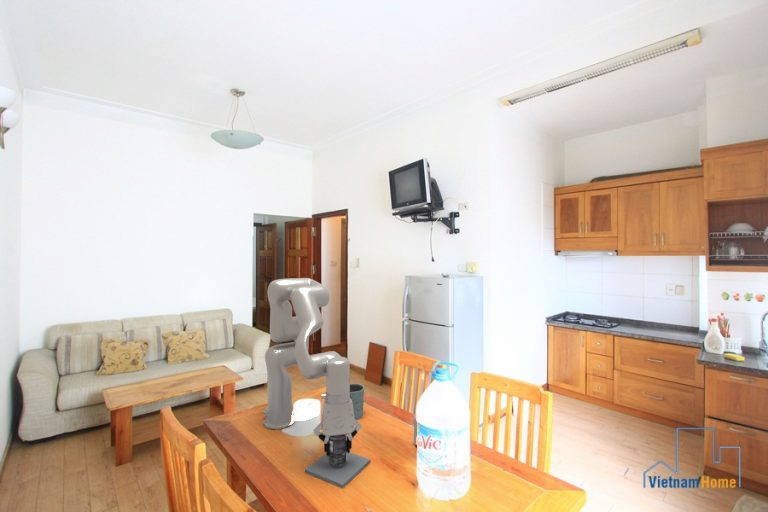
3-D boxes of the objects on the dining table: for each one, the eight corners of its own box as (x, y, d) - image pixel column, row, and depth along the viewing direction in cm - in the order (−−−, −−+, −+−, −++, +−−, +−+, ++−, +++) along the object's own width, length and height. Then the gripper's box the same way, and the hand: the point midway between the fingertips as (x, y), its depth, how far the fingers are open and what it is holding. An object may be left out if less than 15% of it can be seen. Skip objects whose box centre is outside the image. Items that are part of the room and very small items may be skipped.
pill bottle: (349, 457, 117) (349, 423, 117) (343, 468, 111) (343, 432, 111) (332, 454, 118) (332, 421, 118) (325, 465, 113) (325, 429, 113)
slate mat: (304, 472, 112) (304, 469, 112) (334, 449, 125) (334, 446, 125) (342, 488, 104) (342, 484, 104) (370, 462, 117) (370, 459, 117)
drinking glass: (363, 421, 146) (363, 392, 146) (338, 421, 147) (338, 391, 146) (364, 410, 157) (364, 383, 156) (342, 410, 157) (342, 383, 157)
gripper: (311, 404, 109) (311, 462, 109) (366, 398, 113) (366, 455, 113) (310, 394, 116) (309, 449, 116) (362, 389, 120) (361, 442, 121)
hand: (337, 451), depth 115 cm, fingers closed on pill bottle, 6 cm apart
